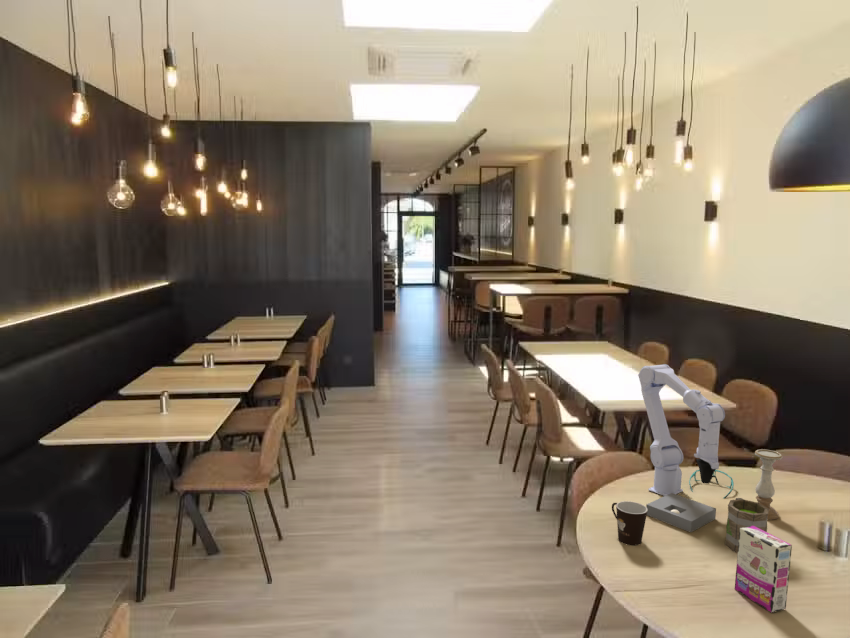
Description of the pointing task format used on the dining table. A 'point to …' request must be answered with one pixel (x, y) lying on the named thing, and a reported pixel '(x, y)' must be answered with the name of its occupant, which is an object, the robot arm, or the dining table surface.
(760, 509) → the mug
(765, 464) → the candle holder
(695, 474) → the teal safety glasses
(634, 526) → the coffee mug
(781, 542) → the candy bar box
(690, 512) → the deck
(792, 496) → the dining table surface
